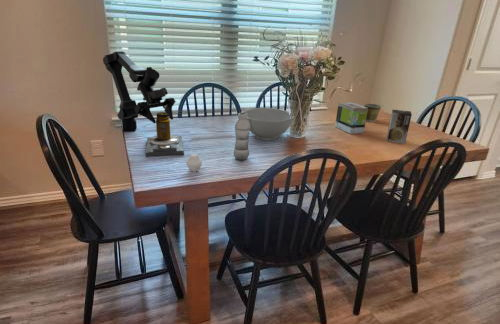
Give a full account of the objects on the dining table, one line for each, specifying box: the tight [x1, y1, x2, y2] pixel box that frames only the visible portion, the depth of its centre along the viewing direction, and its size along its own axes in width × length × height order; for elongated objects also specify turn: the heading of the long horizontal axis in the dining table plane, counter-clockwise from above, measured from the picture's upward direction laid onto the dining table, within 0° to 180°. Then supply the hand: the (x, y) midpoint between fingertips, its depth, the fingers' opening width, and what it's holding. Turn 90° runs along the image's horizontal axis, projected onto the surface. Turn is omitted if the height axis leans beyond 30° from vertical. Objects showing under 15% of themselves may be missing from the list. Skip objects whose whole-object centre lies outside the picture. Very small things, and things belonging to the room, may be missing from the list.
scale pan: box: [150, 134, 179, 145], centre depth 151 cm, size 13×13×1 cm
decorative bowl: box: [241, 107, 295, 141], centre depth 168 cm, size 27×27×12 cm
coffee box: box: [386, 109, 413, 145], centre depth 169 cm, size 9×6×16 cm
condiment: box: [152, 111, 173, 143], centre depth 148 cm, size 7×8×12 cm
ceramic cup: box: [363, 103, 382, 123], centre depth 208 cm, size 13×10×10 cm
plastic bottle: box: [233, 112, 251, 161], centre depth 137 cm, size 6×7×20 cm
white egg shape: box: [185, 153, 203, 173], centre depth 126 cm, size 6×6×7 cm
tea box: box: [334, 101, 368, 135], centre depth 185 cm, size 15×10×15 cm, turn 20°
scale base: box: [145, 135, 185, 158], centre depth 148 cm, size 16×20×3 cm
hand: (163, 121), depth 147 cm, fingers open, 9 cm apart
